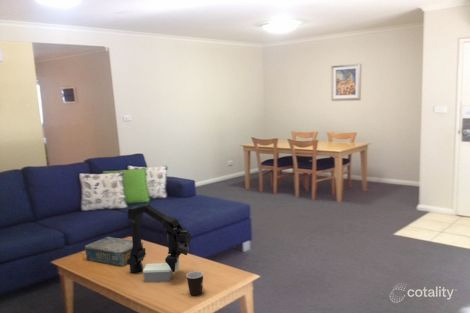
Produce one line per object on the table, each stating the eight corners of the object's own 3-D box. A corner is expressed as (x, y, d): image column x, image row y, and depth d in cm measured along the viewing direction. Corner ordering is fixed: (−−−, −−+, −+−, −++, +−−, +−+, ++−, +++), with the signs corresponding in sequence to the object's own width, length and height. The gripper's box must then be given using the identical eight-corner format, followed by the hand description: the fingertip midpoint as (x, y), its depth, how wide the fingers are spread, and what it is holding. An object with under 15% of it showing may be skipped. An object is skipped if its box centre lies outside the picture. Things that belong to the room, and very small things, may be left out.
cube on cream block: (143, 274, 233) (142, 266, 232) (147, 267, 242) (146, 259, 242) (177, 273, 232) (176, 265, 231) (180, 266, 241) (179, 258, 241)
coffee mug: (197, 298, 213) (196, 279, 212) (184, 295, 217) (182, 276, 216) (211, 289, 223) (209, 270, 221) (197, 286, 227) (196, 268, 226)
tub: (144, 283, 234) (143, 272, 233) (148, 276, 243) (147, 265, 242) (170, 282, 233) (169, 271, 232) (173, 275, 242) (172, 265, 241)
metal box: (109, 249, 293) (107, 235, 292) (145, 256, 277) (144, 241, 276) (84, 261, 274) (83, 246, 273) (122, 268, 259) (120, 252, 257)
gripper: (184, 247, 225) (186, 275, 227) (190, 235, 243) (192, 261, 246) (164, 247, 226) (166, 275, 228) (170, 236, 244) (172, 262, 246)
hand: (175, 268), depth 237 cm, fingers open, 8 cm apart
